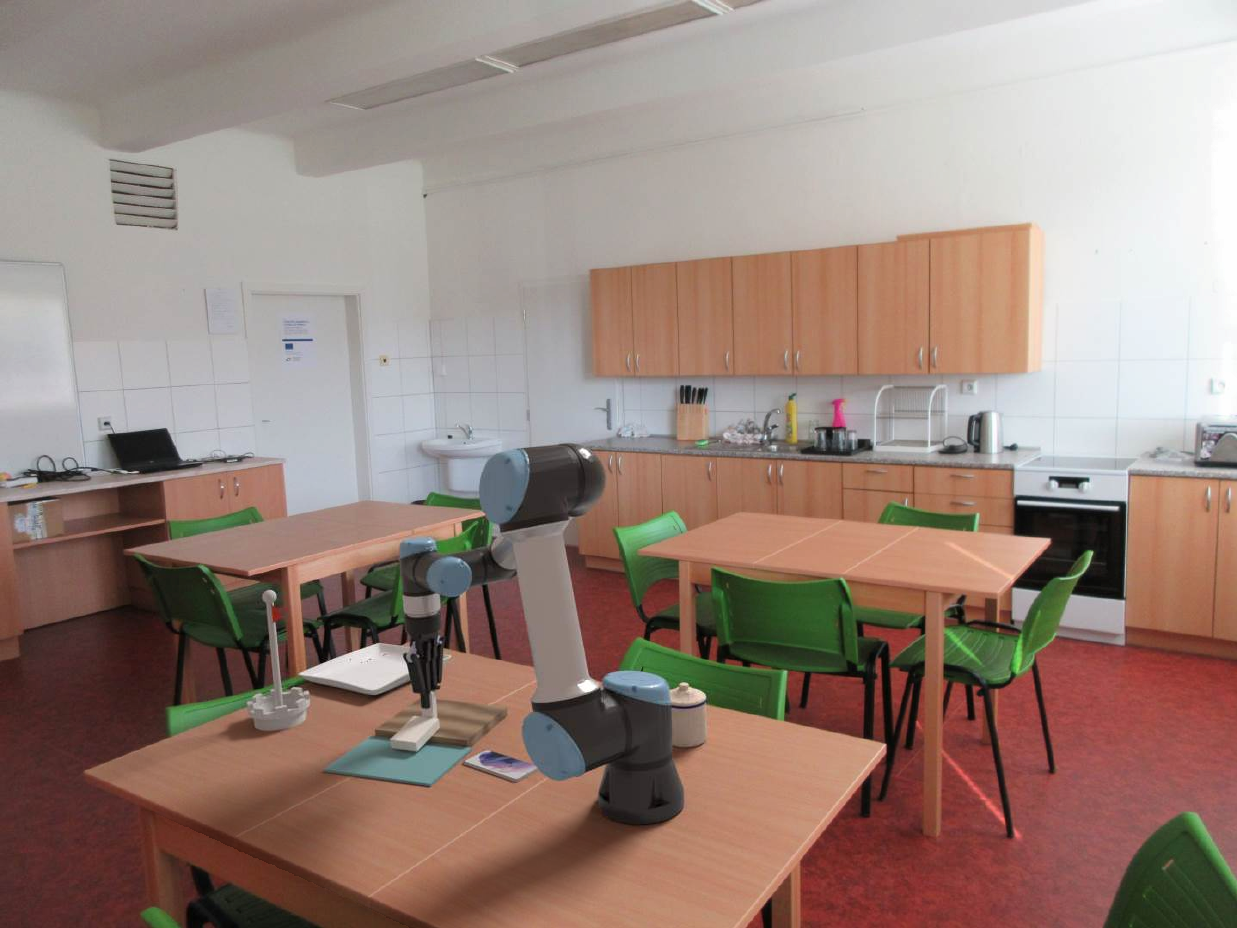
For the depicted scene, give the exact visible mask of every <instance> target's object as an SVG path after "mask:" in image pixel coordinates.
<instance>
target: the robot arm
mask: <svg viewBox="0 0 1237 928" xmlns="http://www.w3.org/2000/svg"><path fill="white" fill-rule="evenodd" d="M606 485H607V475H606V470H605V467H604V464H603V463H602V460H601V459H600V458H599V457H598V456H597V454H596V453H595V452H594V451H592V449H589V448H588V447H586V446H584V445H581V444H578V443H573V442H571V443H570V442H565V443H564V442H563V443H558V444H551V445H550V444H549V445H541V446H528V447H518V448H513V449H507V450H505V451H500V452H497V453H494V454H493V455H492V456H491V457H490V458H489V459H488V460H487V461H486V463H485V464H484V466H483V470H482V472H481V473H480V478H479V484H478V495H479V497H478V498H479V504H480V508H481V510H482V513H483V514H484V516H485V518H486V519H487V520H488V521H489V522H490V523H492V524H494V525H497V526H498V527H499V533H500V534H499V535H498V536H497V537H496V538H494V540H493V541H492V542H491V543H489V545H486V546H481V547H476V548H472V549H467V550H461V551H456V552H451V553H445V554H443V553H440V552H438V547H437V544H436V543H437V542H436V540H435V539H434V538H433V537H430V536H429V537H427V536H418V537H410V538H406V539H404V540H402V541H401V542H400V543H399V546H398V547H399V548H398V549H399V552H398V553H399V557H398V561H399V568H400V569H399V571H400V579H401V580H400V581H401V593H402V602H403V603H402V604H403V605H402V606H403V613H405V614H404V616H403V622H404V630H405V633H406V634H408V635H409V637H410V638H409V639H410V640H409V647H410V650H409V652H408V653H404V654H403V658H404V660H405V662H406V663H407V668H408V672H409V676H410V681H409V682H410V684H411V689H412V692H413V694H418V695H420V697H419V698H421V707H422V717H427V718H435V719H437V705H436V699H437V691H439V690H440V689H441V685H439V684H441V683H442V682H443V681H442V679H443V666H444V665H443V654H444V648H445V643H446V636H444V635H439V631H440V630H441V629H442V628H443V627H442V624H443V623H442V612H441V611H440V610H441V596H444V597H450V598H455V597H458V596H459V597H460V596H461V595H463V594H464V593H465V592H466V591H467V590H468V589H471V588H475V587H479V586H483V585H488V584H493V583H497V582H503V581H510V580H512V579H514V578H517V581H518V585H519V591H520V596H521V601H522V607H523V613H524V614H523V615H524V618H525V624H526V629H527V635H528V641H529V647H530V650H531V651H530V652H531V657H532V661H533V667H534V674H535V679H536V684H537V687H536V688H535V691H534V692H533V694H532V695H531V697H530V703H531V708H532V709H531V710H532V711H531V712H529V713H528V715H526V716H525V717H524V718H523V721H522V726H521V736H522V741H523V744H524V748H525V750H526V753H527V755H528V756H529V758H530V760H531V762H532V764H533V765H535V766H536V767H537V768H538V770H539V772H540V773H541V774H542V775H543V776H545V777H546V778H548V779H550V780H552V781H556V782H562V781H563V782H564V781H566V780H569V779H573V778H575V777H576V778H579V777H582V776H583V775H584V774H585V773H588V772H590V771H593V770H596V769H598V768H600V767H603V766H605V767H604V770H603V774H602V777H601V779H600V784H599V786H598V787H599V788H598V791H597V793H598V794H597V804H598V809H599V811H600V812H601V813H602V814H603V815H604V816H605V817H607V818H608V819H611V820H612V821H616V822H619V823H623V824H629V825H651V824H656V823H661V822H663V821H667V820H670V819H671V818H673V817H676V815H678V814H679V813H681V811H682V810H683V808H684V807H685V789H684V784H683V783H682V780H681V777H680V774H679V772H678V769H677V767H676V764H675V761H674V758H673V757H674V756H673V753H674V752H673V745H672V713H671V705H672V701H671V699H670V690H671V689H670V684H669V683H668V682H667V680H666V679H664V678H663V677H661V676H659V675H658V674H654V673H650V672H646V671H645V672H644V671H639V670H619V671H617V670H616V671H613V672H609V673H607V674H606V675H604V677H603V678H602V682H601V685H600V683H599V682H598V681H597V680H595V679H593V678H592V677H591V676H590V675H589V674H590V673H589V669H588V664H587V663H588V662H587V658H586V653H585V648H584V642H583V637H582V633H581V626H580V625H581V624H580V621H579V616H578V611H577V604H576V600H575V599H576V598H575V594H574V589H573V583H572V578H571V573H570V567H569V563H568V557H567V551H566V545H565V540H564V530H565V529H566V528H567V527H568V525H569V524H570V521H572V519H573V518H574V519H575V518H576V519H578V518H582V517H583V516H585V515H587V513H588V512H589V511H591V510H592V509H593V508H594V507H595V506H596V505H597V504H598V503H599V501H600V500H601V498H602V496H603V495H604V492H605V489H606ZM601 686H602V689H601Z"/></svg>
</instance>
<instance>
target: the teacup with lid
mask: <svg viewBox="0 0 1237 928" xmlns="http://www.w3.org/2000/svg"><path fill="white" fill-rule="evenodd" d="M670 699H671V701H672V705H671V713H672V747H678V748H692V747H698V746H700V745H702V744H703V743H705V742H706V741H707V738H708V732H707V731H708V730H707V729H708V728H707V701H708V697H707V696H706V693H704V691H702V690H700V689H697V688H693V687H691V686H689V683H687V682H680V683H679V685H678V686H677V687H676V688H673V689H670Z"/></svg>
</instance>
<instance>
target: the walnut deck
mask: <svg viewBox="0 0 1237 928" xmlns="http://www.w3.org/2000/svg"><path fill="white" fill-rule="evenodd" d="M436 705H437V719H439V723H440V728H439V729H438V730H437V731H436V732H435V733H434V734H433V735H432V736H431V738H430V739H429V740H428V741H427V742H428V743H437V744H445V745H454V746H462V747H470V748H472V747H473V746H474V745H475V744H476V743H478V742H479V741H480V740H481V739H482V738H483V737H484V736H486V735H487V734H488V733H489V732H490V731H491V730H492V729H493V728H494V727H496V726H498V724H499V723H501V722H502V721H503V720H504V719H505V718H506V717H508V715H509V714H508V706H505V705H495V704H485V703H475V702H474V703H473V702H465V701H456V700H445V699H437V698H436ZM413 716H418V717H422V707H421V697H419V698H418V699H416V700H415V701H414V702H413V703H410V705H408V706H406V707H405V708H404V709H401V711H399V712H397V714H395V715H393V716H392V717H391V718H389V719H388V720H386V721H385V722H382V723H381V724H380V725H379V726H377V727H376V728H375V729H374V736H378V737H387V738H392V737H393V736H394V735H395V734H396V733H397V732H398V731H399V730H400V729H401V728H402V727H403V726H404V725H405V724H406V723H407V722H408V721H409V720H410V719H411V718H412V717H413Z"/></svg>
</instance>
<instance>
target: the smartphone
mask: <svg viewBox="0 0 1237 928" xmlns="http://www.w3.org/2000/svg"><path fill="white" fill-rule="evenodd" d="M462 764H463V765H464V766H466V767H470V768H472V769H476V770H478V771H482V772H484V773H487V774H491V775H493V776H496V777H499V778H501V779H504V780H507V781H511V782H513V783H519V782H521V781H523V780H525V779H527V778H529V777H530V776H532V775H533V774H535V773H537V772H538V771H539V770H538V768H537V767H536V766H535V765H534V763H530V762H527V761H524V760H520V759H519V758H515V757H511V756H510V755H509V756H508V755H505V754H503V753H499V752H496V751H493V750H489V749H485V750H483V751H481V752H478V753H476V754H474V755H472V756H470V757H468V758H465V759H464V760H463V761H462ZM539 772H540V771H539Z"/></svg>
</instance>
